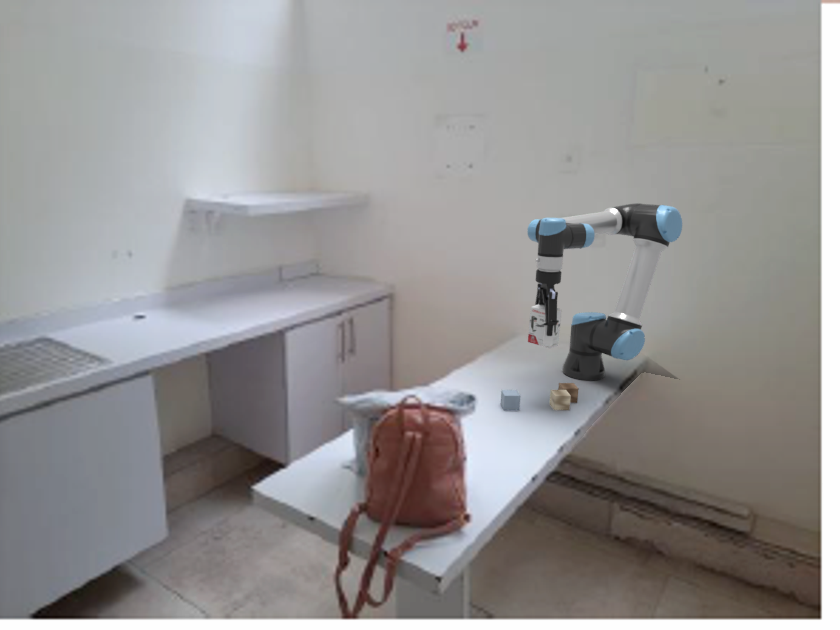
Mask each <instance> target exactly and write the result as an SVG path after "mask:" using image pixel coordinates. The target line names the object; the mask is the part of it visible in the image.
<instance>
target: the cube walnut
mask: <svg viewBox="0 0 840 630" xmlns="http://www.w3.org/2000/svg"><path fill="white" fill-rule="evenodd" d="M557 390H566V391H567V392H568V393H569V394H570V395H571V399H570V404H576V403H577V404H578V399H579V398H578V397H579V390H580V389H579V387H578V386H577V385H576V384H575V383H574V382H559V383H558V388H557Z"/></svg>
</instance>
